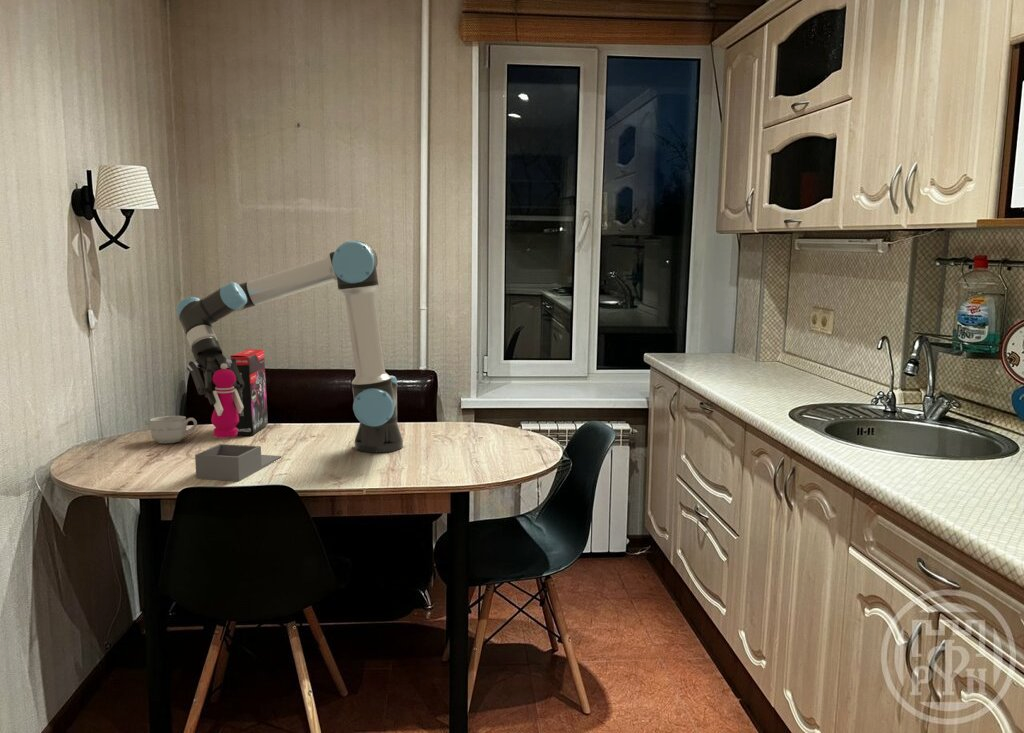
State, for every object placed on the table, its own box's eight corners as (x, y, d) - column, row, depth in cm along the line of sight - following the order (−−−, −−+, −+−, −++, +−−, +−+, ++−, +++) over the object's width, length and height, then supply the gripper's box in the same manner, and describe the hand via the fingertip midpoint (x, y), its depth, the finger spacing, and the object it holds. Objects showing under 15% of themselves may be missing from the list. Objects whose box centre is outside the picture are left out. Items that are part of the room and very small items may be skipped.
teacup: (145, 445, 254) (144, 421, 253) (158, 437, 265) (157, 414, 264) (190, 445, 255) (189, 421, 254) (201, 438, 266) (200, 414, 265)
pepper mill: (214, 439, 218) (211, 365, 215) (209, 433, 225) (207, 362, 222) (241, 436, 222) (240, 364, 219) (236, 431, 228) (235, 361, 225)
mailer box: (281, 457, 242) (281, 436, 241) (239, 481, 217) (238, 457, 217) (242, 455, 244) (241, 434, 243) (196, 478, 220) (195, 454, 219)
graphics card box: (253, 436, 268) (250, 355, 265) (232, 436, 268) (229, 355, 264) (268, 425, 285) (266, 348, 281) (248, 425, 285) (246, 348, 281)
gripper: (231, 351, 237) (258, 415, 228) (168, 355, 225) (194, 423, 216) (239, 335, 233) (266, 400, 223) (175, 338, 220) (201, 407, 211)
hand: (230, 411), depth 219 cm, fingers closed on pepper mill, 5 cm apart
